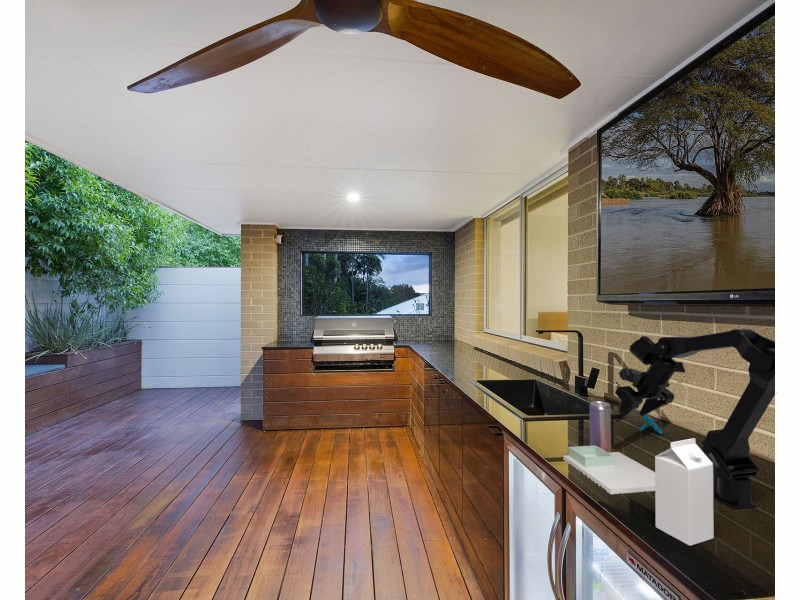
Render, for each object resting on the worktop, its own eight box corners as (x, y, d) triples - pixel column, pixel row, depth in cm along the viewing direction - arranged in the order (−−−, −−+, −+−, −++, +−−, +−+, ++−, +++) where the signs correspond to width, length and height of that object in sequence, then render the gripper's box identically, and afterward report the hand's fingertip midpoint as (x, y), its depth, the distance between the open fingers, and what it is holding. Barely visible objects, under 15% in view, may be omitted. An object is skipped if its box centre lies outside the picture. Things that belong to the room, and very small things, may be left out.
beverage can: (589, 452, 127) (588, 404, 127) (590, 446, 133) (590, 400, 133) (610, 456, 125) (610, 406, 125) (611, 449, 130) (610, 402, 130)
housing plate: (676, 489, 103) (676, 474, 103) (610, 494, 100) (610, 479, 100) (618, 455, 125) (618, 443, 125) (563, 459, 122) (563, 447, 122)
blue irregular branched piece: (665, 434, 139) (640, 409, 144) (650, 444, 141) (627, 420, 146) (665, 429, 148) (642, 407, 153) (651, 439, 150) (629, 417, 155)
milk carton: (655, 527, 86) (654, 437, 86) (678, 521, 88) (678, 432, 88) (689, 546, 79) (688, 448, 79) (714, 539, 82) (713, 443, 82)
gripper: (655, 357, 127) (630, 396, 133) (613, 358, 119) (589, 399, 125) (687, 381, 118) (659, 421, 124) (645, 383, 110) (617, 426, 116)
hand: (631, 416), depth 123 cm, fingers open, 9 cm apart
